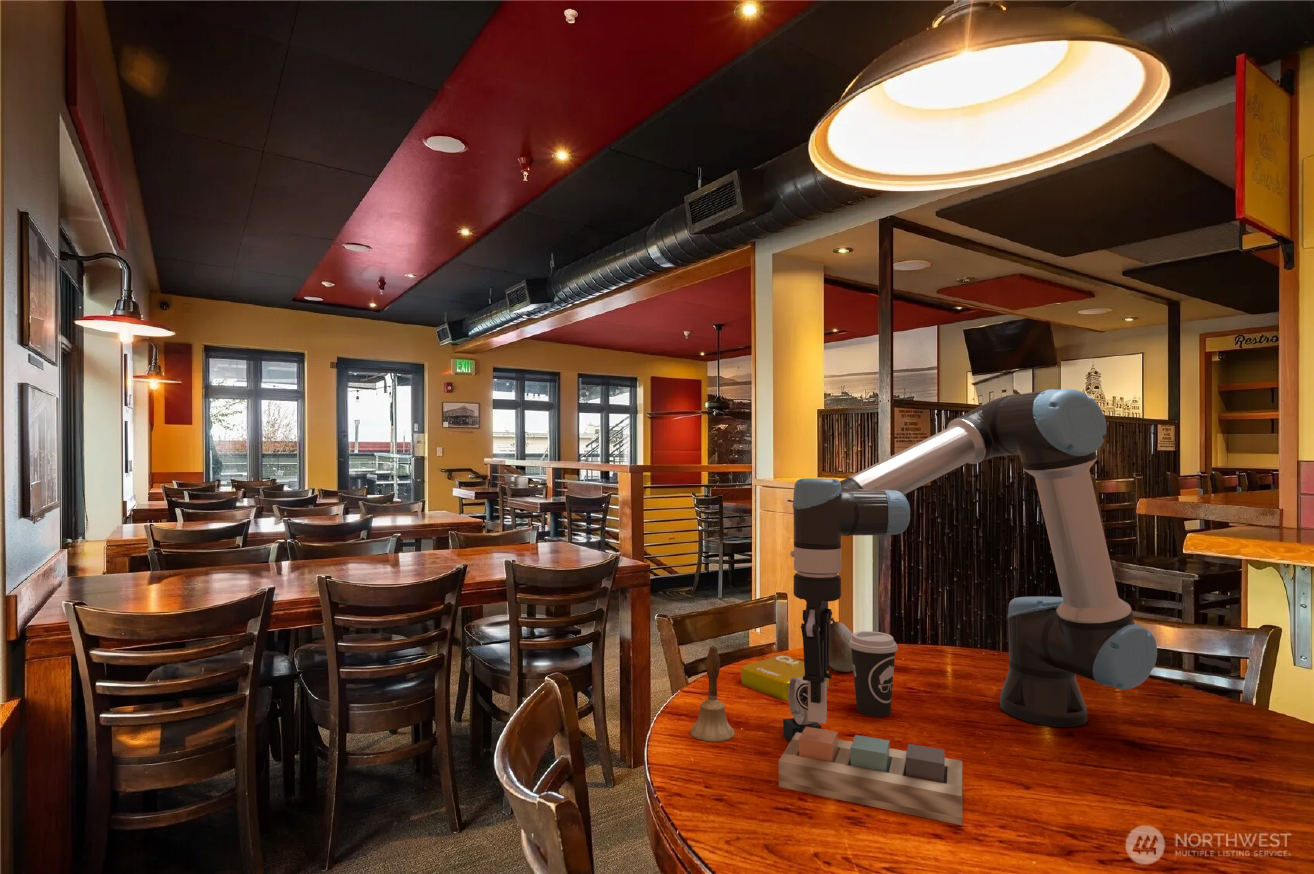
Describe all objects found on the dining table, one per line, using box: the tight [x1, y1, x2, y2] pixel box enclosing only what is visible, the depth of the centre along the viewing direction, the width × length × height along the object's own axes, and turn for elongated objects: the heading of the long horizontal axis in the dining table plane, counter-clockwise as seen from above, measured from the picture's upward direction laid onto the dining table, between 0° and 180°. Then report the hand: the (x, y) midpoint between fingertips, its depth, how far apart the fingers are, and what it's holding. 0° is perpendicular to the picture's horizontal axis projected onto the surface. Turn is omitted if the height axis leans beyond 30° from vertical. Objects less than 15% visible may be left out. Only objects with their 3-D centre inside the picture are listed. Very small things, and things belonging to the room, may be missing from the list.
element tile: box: [741, 654, 830, 702], centre depth 150 cm, size 15×15×5 cm
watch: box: [782, 677, 822, 744], centre depth 121 cm, size 6×8×11 cm
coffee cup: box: [849, 630, 899, 718], centre depth 135 cm, size 10×10×15 cm
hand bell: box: [689, 645, 735, 743], centre depth 124 cm, size 8×8×16 cm
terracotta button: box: [799, 727, 839, 763], centre depth 107 cm, size 5×5×4 cm
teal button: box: [850, 734, 891, 773], centre depth 104 cm, size 5×5×4 cm
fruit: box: [829, 617, 854, 673], centre depth 162 cm, size 10×9×12 cm
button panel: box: [778, 732, 964, 826], centre depth 104 cm, size 26×12×4 cm, turn 65°
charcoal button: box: [906, 743, 946, 783], centre depth 100 cm, size 5×5×4 cm
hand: (817, 720), depth 107 cm, fingers closed
